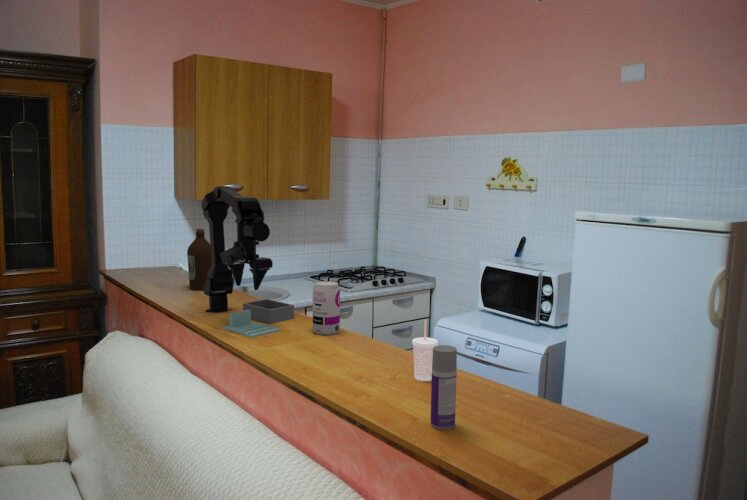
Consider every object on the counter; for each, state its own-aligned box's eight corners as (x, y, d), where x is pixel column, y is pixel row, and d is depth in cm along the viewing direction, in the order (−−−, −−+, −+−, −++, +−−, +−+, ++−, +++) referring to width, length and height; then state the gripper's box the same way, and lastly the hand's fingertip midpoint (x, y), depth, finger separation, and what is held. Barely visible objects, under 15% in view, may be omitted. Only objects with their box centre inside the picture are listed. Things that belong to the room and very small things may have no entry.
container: (428, 419, 113) (430, 345, 111) (452, 419, 113) (454, 344, 111) (432, 430, 108) (434, 352, 106) (457, 429, 109) (459, 352, 107)
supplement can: (341, 328, 180) (341, 281, 178) (337, 335, 172) (337, 286, 170) (315, 327, 181) (315, 280, 179) (310, 334, 172) (310, 285, 171)
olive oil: (209, 285, 248) (208, 227, 245) (218, 289, 240) (217, 229, 236) (184, 287, 242) (183, 228, 239) (193, 292, 233) (191, 230, 230)
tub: (243, 318, 192) (242, 303, 191) (267, 313, 199) (266, 298, 198) (270, 325, 183) (270, 310, 182) (294, 320, 190) (294, 305, 189)
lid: (222, 331, 176) (222, 313, 175) (250, 325, 184) (250, 308, 183) (252, 340, 167) (252, 321, 166) (280, 333, 175) (280, 315, 174)
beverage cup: (406, 378, 136) (407, 320, 134) (419, 371, 141) (420, 315, 139) (429, 384, 132) (430, 324, 131) (441, 376, 138) (443, 319, 136)
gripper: (206, 237, 178) (207, 287, 180) (242, 243, 166) (243, 296, 168) (237, 235, 187) (237, 282, 189) (273, 240, 174) (273, 291, 176)
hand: (247, 287), depth 180 cm, fingers open, 9 cm apart
